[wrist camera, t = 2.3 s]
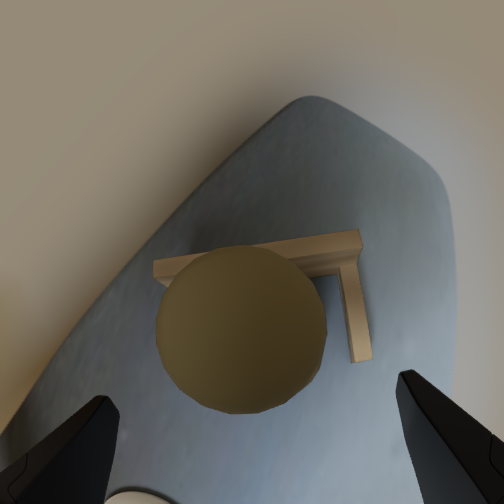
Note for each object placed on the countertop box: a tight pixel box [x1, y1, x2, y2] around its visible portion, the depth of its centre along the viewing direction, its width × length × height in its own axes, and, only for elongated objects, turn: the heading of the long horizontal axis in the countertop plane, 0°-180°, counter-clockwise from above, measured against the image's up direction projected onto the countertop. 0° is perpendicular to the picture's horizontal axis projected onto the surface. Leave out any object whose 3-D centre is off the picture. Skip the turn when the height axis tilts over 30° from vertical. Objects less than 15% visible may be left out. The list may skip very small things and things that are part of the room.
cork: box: [156, 245, 327, 414], centre depth 13 cm, size 6×6×11 cm
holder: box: [153, 229, 373, 363], centre depth 17 cm, size 6×11×4 cm, turn 96°
